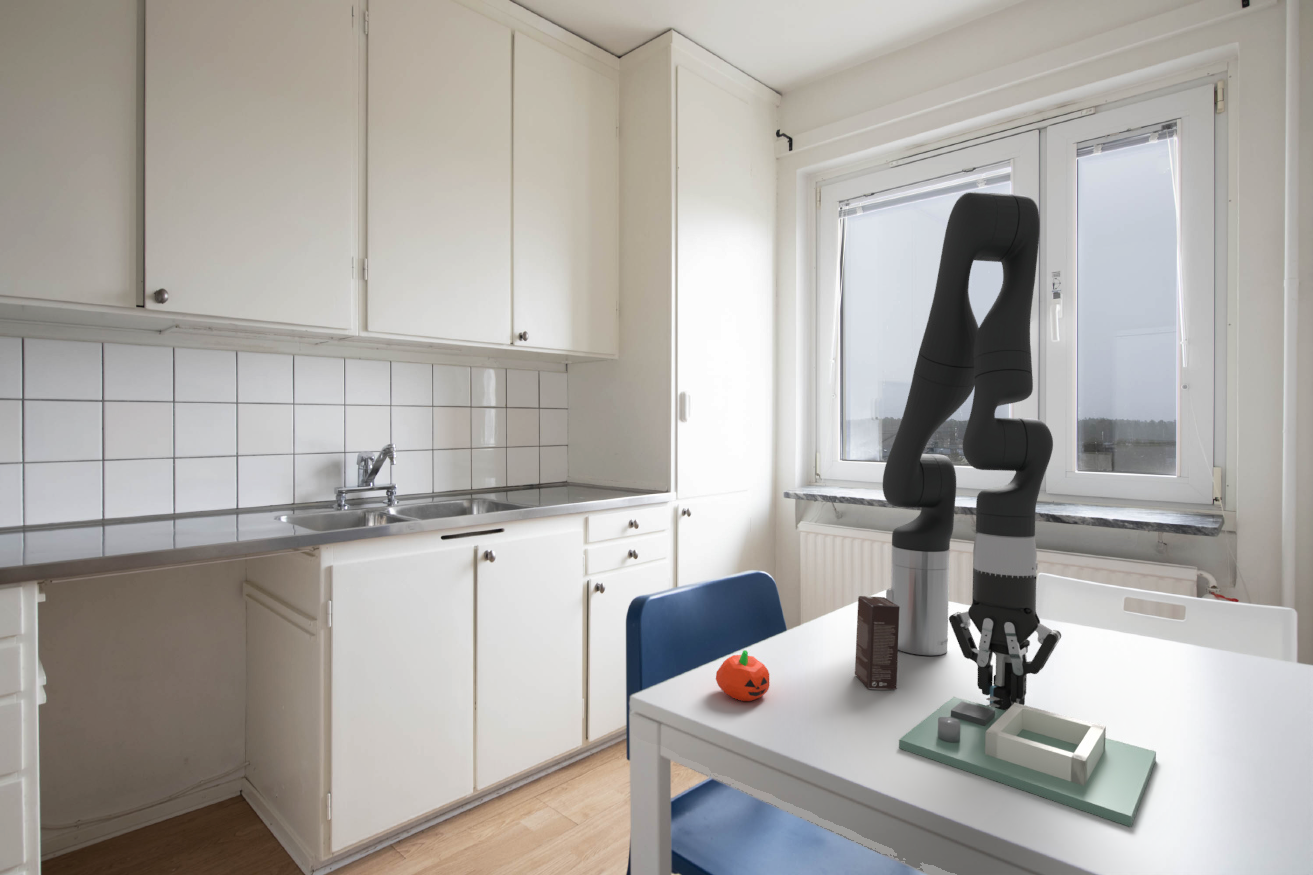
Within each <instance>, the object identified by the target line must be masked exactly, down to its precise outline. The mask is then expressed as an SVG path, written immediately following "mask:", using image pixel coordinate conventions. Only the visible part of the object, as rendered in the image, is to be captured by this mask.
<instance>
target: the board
mask: <svg viewBox="0 0 1313 875" xmlns="http://www.w3.org/2000/svg"><path fill="white" fill-rule="evenodd" d="M986 705H987V704H982V703H979V702H975V701H971V700H967V699H963V698H960V697H956V696H953V697H951V698H950V699H949V700H947V702H944V704H943V705H941V706H940V707H938V708H937V709H936V710H935V711H933V712H932V713H931V714H930V715H928V716H927V717H926V718H925V719H923V720H922V721H921V722H920V723H918V724H917V725H916V726H914V727H913V728H912V729H910V730H909V731H908V732H906V734H904V735H903V736H902V737H900V738H899V739H898V748H899V749H900V750H904V751H906V752H909V753H913V754H916V755H919V756H921V757H924V758H927V759H930V760H933V761H936V762H939V763H942V764H945V765H947V766H950V767H954V768H956V769H960V770H962V771H966V772H967V773H971V774H974V775H977V776H980V777H983V778H986V779H989V780H992V781H995V782H998V783H1000V784H1004V785H1006V786H1010V787H1012V788H1014V789H1015V788H1016V789H1018V790H1021V791H1025V792H1027V793H1031V794H1033V795H1036V796H1039V797H1042V798H1045V799H1048V800H1050V801H1053V802H1056V803H1059V804H1062V805H1065V806H1068V807H1071V808H1073V809H1077V810H1080V811H1083V812H1086V813H1088V814H1092V815H1095V816H1098V817H1101V818H1104V819H1106V820H1109V821H1112V822H1115V823H1118V824H1121V825H1124V826H1127V827H1130V828H1131V827H1132V825H1133V822H1134V820H1135V818H1136V815H1137V811H1138V809H1139V806H1140V804H1141V801H1142V798H1143V796H1144V793H1145V790H1146V788H1147V785H1148V782H1149V780H1150V777H1151V774H1152V771H1153V769H1154V766H1155V763H1156V762H1157V761H1156V760H1157V756H1156V755H1157V751H1155V750H1153V749H1148V748H1144V747H1141V746H1140V747H1139V746H1138V745H1137V746H1136V745H1133V744H1129V743H1125V742H1123V741H1118V740H1115V739H1112V738H1108V737H1106V736H1107V735H1106V731H1107V729H1106V725H1101V724H1097V723H1093V722H1090V721H1086V720H1081V719H1078V718H1074V717H1071V716H1067V715H1065V714H1064V715H1063V714H1059V713H1055V712H1052V711H1048V710H1044V709H1039V708H1036V707H1032V706H1028V705H1025V704H1024V705H1022V704H1018V703H1014V704H1013V705H1012V706H1011V707H1010V708H1009V709H1006V710H1001V709H997V708H995V707H992V706H991V707H990V706H986Z"/></svg>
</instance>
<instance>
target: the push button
mask: <svg viewBox="0 0 1313 875" xmlns="http://www.w3.org/2000/svg"><path fill="white" fill-rule="evenodd" d="M991 644H992V649H991V650H992V651H993V655H994V656H995V674H993V684H992V686H991V687H990V695H989V697H988V698H985V699H986V700H987V701H989V704H985V705H986V706H990V707H994V708H997V709H1001V710H1005V711H1007V710H1008V709H1009V708H1010V707H1011V706H1012V705H1013V704H1014V703H1015V702H1011V674H1012V673H1013V666H1012V660H1011V657H1010V655H1009V649H1008V647H1007V646H1005V645H1003V644H1000V643H999V644H993V643H991ZM1030 645H1031V642H1030V640H1029V639H1027V640H1026V641H1025V644H1024V643H1022V644H1021V645H1019V648H1023V647H1025V648H1026V649H1027V652H1026V654H1027V653H1028V651H1029V646H1030ZM1018 704H1022V705H1025V704H1026V696H1025V697H1024V698H1023V699H1022V700H1021V699H1020V701H1019V702H1018Z"/></svg>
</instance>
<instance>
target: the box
mask: <svg viewBox="0 0 1313 875" xmlns="http://www.w3.org/2000/svg"><path fill="white" fill-rule="evenodd" d="M899 608H900V607H899V606H898V605H896V604H894V603H892V602H891V601H889V600H888V599H886V596H885V597H883V596H882V597H881V596H869V595H868V596H866V595H863V596H862V595H859V596H858V598H857V618H856V620H857V623H856V642H855V644H856V646H855V663H854V676H856V677H857V678H858V679H859V680H860V682H862V683H863V685H864V686H865V687H866V689H868V690H873V691H889V690H890V691H891V690H897V686H898V685H897V684H898V683H897V682H898V652H899V650H898V632H899Z"/></svg>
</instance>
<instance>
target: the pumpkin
mask: <svg viewBox="0 0 1313 875" xmlns="http://www.w3.org/2000/svg"><path fill="white" fill-rule="evenodd" d="M748 653H749V652H748V651H747V649H745V650H742V653H741V654H734V655H732V656H730V657H728V658H726V659H725V660H724V661H722V663H721V665H720V667H719V668H718V670H717V671H716V675H715V680H716V683H717V686H718V687H719V688H720V690H721V691H722V692H724V693H725V694H726V695H728V696H729V697H730V698H733V699H734V698H735V700H737V699H738V701H740V700H741V701H742V702H751V701H755V700H757V699H759V698H761V697H763V696H764V695H766V693H767V692H768V691H769V688H770V672H769V670H768V668H767V666H765V664H764V663H763V662H762V661H760V660H759V659H757V658H756V657H755V656H752V655H749V654H748Z"/></svg>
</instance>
